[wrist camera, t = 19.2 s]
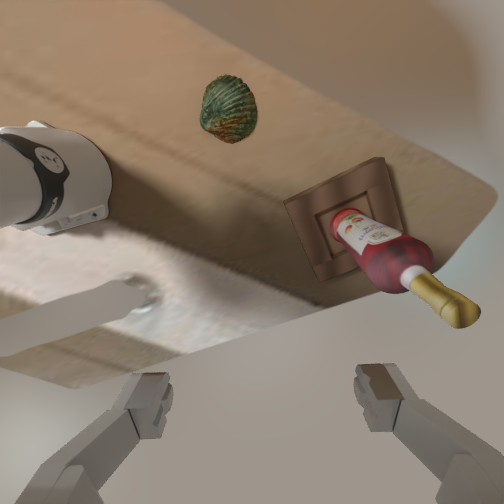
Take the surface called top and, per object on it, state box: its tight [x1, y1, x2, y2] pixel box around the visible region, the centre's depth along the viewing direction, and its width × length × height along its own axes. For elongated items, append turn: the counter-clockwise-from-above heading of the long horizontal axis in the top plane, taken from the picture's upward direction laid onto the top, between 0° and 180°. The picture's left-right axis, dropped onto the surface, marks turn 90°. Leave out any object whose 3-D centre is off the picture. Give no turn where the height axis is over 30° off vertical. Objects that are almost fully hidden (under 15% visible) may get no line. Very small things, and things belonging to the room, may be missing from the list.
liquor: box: [329, 208, 481, 328], centre depth 33 cm, size 7×7×28 cm
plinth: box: [283, 157, 404, 283], centre depth 46 cm, size 18×18×4 cm
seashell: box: [200, 75, 257, 143], centre depth 39 cm, size 10×4×10 cm
